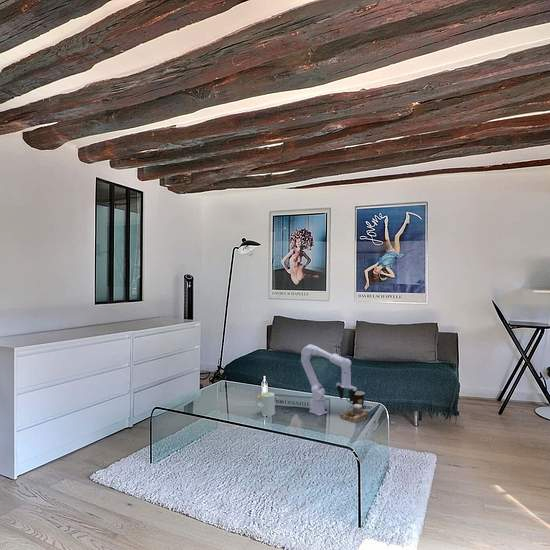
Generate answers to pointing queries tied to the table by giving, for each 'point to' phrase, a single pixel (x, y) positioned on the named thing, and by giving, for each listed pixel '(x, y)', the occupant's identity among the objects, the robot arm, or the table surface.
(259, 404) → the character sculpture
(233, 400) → the table surface
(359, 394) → the coffee mug
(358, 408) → the plug
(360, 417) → the socket board
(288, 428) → the table surface
